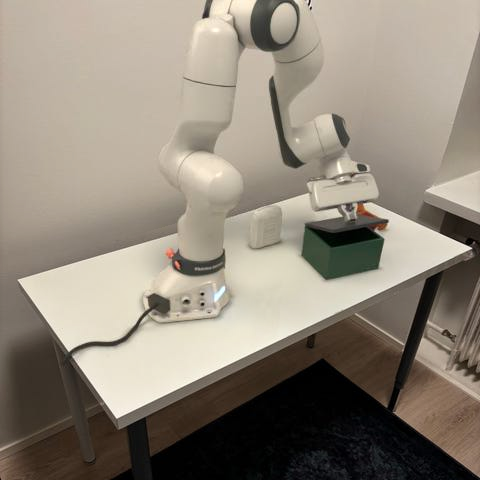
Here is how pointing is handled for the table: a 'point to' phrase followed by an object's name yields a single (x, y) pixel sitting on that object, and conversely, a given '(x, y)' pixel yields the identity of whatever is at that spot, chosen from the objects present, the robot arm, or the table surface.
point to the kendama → (362, 209)
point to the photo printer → (265, 226)
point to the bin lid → (345, 223)
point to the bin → (342, 251)
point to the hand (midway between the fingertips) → (351, 220)
